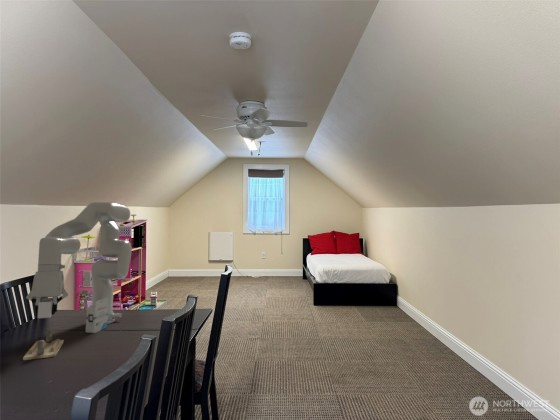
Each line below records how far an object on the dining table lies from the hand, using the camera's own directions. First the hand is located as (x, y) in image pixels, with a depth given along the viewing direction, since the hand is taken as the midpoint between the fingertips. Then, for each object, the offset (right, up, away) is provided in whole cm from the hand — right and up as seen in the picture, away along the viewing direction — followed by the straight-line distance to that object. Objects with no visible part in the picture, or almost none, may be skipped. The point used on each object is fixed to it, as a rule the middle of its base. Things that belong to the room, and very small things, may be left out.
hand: (46, 313), depth 130 cm
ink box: (+6, -16, +25) cm, 30 cm away
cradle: (0, -14, 0) cm, 14 cm away
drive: (0, 0, 0) cm, 1 cm away
